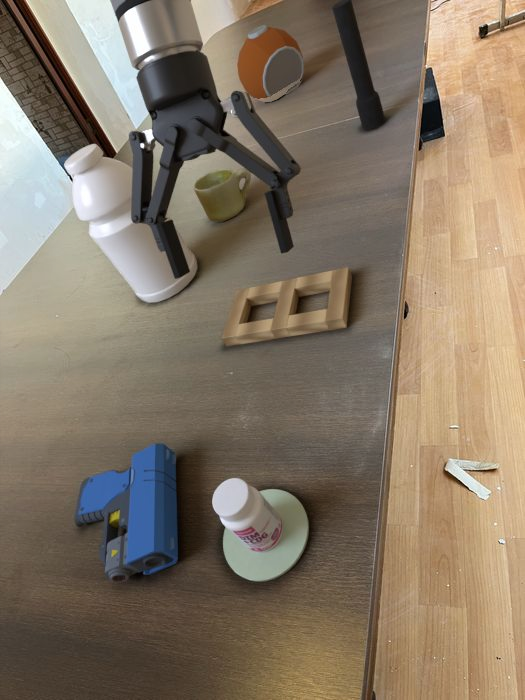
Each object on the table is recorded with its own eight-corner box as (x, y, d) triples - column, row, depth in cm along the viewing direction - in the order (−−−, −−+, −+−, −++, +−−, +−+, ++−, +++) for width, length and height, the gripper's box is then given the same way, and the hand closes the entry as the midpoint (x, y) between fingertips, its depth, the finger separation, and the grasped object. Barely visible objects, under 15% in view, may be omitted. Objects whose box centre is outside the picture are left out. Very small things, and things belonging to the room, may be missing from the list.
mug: (196, 227, 105) (185, 179, 100) (209, 215, 114) (200, 170, 109) (252, 221, 102) (243, 171, 97) (261, 209, 111) (253, 162, 106)
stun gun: (53, 596, 55) (162, 547, 52) (72, 479, 67) (162, 433, 64) (80, 606, 58) (185, 561, 55) (94, 491, 70) (181, 448, 66)
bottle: (127, 296, 102) (31, 178, 83) (172, 253, 106) (91, 132, 88) (165, 310, 92) (66, 180, 74) (212, 262, 97) (130, 128, 79)
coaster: (314, 489, 54) (313, 488, 54) (302, 585, 48) (300, 583, 48) (235, 491, 59) (234, 489, 58) (214, 578, 52) (213, 577, 52)
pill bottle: (257, 563, 51) (220, 530, 46) (237, 530, 55) (200, 495, 49) (292, 533, 52) (260, 496, 46) (270, 501, 55) (238, 464, 50)
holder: (352, 276, 76) (348, 266, 75) (346, 327, 69) (342, 318, 68) (241, 298, 84) (236, 290, 83) (226, 346, 77) (221, 338, 76)
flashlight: (388, 115, 107) (366, 120, 110) (357, -8, 92) (333, 1, 95) (381, 127, 105) (359, 132, 108) (349, 3, 89) (324, 12, 92)
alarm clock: (290, 73, 155) (268, 13, 143) (320, 76, 141) (299, 10, 130) (241, 106, 153) (216, 48, 141) (268, 112, 139) (242, 48, 128)
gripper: (294, 18, 48) (343, 231, 55) (96, 104, 58) (158, 276, 65) (272, 2, 42) (331, 245, 49) (53, 102, 51) (128, 293, 58)
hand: (232, 263), depth 57 cm, fingers open, 13 cm apart
